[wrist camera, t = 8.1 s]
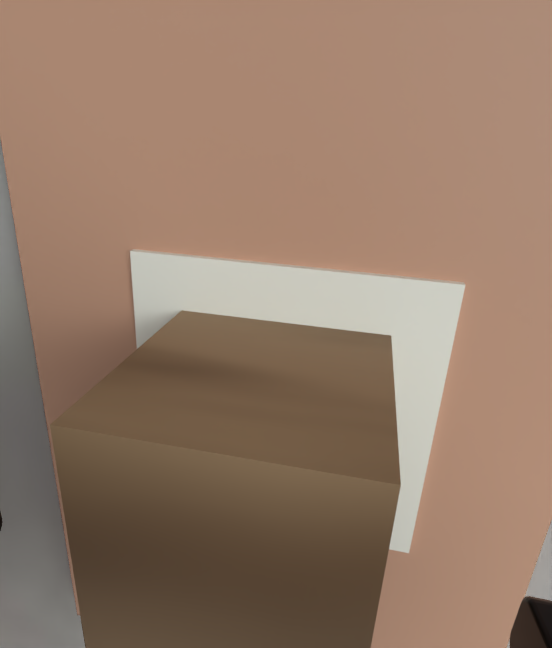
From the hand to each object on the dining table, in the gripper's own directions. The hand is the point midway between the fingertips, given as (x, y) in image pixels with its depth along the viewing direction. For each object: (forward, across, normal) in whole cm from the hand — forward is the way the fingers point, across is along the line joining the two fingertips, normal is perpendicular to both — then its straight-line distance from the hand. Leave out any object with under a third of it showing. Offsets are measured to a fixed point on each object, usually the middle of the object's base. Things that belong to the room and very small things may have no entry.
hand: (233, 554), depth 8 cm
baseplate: (+6, 0, 0) cm, 6 cm away
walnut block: (+4, 0, 0) cm, 5 cm away
